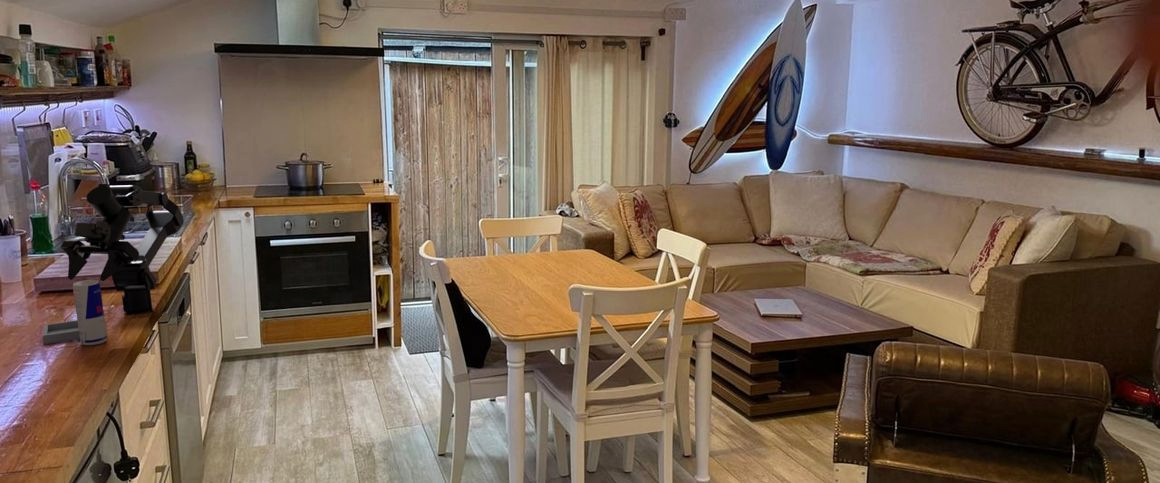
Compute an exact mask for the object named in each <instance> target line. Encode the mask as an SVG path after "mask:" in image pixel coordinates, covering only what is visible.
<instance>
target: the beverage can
mask: <svg viewBox="0 0 1160 483" xmlns="http://www.w3.org/2000/svg"><path fill="white" fill-rule="evenodd" d="M72 291H73V292H72V293H73V299H74V304H75V305H74V306H75V314H76V320H77V321H78V328H79V335H80V339H79V341H80V344H81V345H83V346H90V347H91V346H97V345H101V344H103V343H105V342H107V341H108V335H107V334H108V333H107V327H106V319H105V312H104V305H103V304H104V303H103V298H102V289H101V284H100V281H99V280H98V279H88V280H87V279H86V280H80V281H76V282H74V283H72Z"/></svg>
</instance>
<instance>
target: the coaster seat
mask: <svg viewBox="0 0 1160 483" xmlns="http://www.w3.org/2000/svg"><path fill="white" fill-rule="evenodd" d="M42 339H43V345H47V344H48V345H49V344H54V343H62V342H68V341H74V340H80V335H79V328H78V321H77V319H75V320H74V319H73V320H68V321H60V322H52V323H46V324H44V326H43V331H42Z"/></svg>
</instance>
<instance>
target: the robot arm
mask: <svg viewBox="0 0 1160 483" xmlns="http://www.w3.org/2000/svg"><path fill="white" fill-rule="evenodd" d="M86 201H87V203H88V204H89V205H90V206H91V207H92V209H93V210H94V211H95V212H96V213H97V215H99V216H100V217H102V219H101V220H98V221H96V223H93V222H92V223H91V222H76V225H75V228H74V235H73V236H75V237H81V238H84V241H85V242H86V243H88V244H89V245H86V244H85V243H83V242H82V241H81V240H79V239H65V240H63V241H62V243H61V245H60V248H59V249H60V250H61V251H63V252H64V253H65V254H66V255H67V256H68V271H67V272H68V274H67V279H68V280H70V281H72V280H74V279H75V277H77V275H79V273H80V272H81V271H82V269H83V268H84V267H85V266H86V264H87V263H88V259H90V257H91V255H92V254H94V255H95V254H97V255H98V254H99V255H100V254H101V255H107V261H106V263H105V265H104V267H103V269H102V272H101V274H100V277H99V280H100V281H101V282H105V281H106V280H107V279H109V278H110V277H111V278H112V282H113V284H114V287H115V289H116V292H123V294H122V295H121V301H122V302H121V303H122V309H123V312H124V313H125V315H126V316H131V315H138V314H145V313H151V312H152V313H153V312H154V308H153V301H152V295H151V290H155V289H156V288H157V278H156V277H155V275H154V274H153V273H152V272H151V270H150V265H151V263H152V262H153V260H154V258H155V257H156V255H157V253H158V252H159V251H160V248H161V247H162V246H163V243H165V241H166V239H167V238H168V237H170V236H172V235H174V234H176V233H177V232H179V231H180V230H181V229H182V226H183V225H184V216H183V213H182V211H181V209H180V207H179V205H177V204H176V203H175V202H173V201H172V200H171V199H170V198H169V197H168V194H167V192H163V191H149V190H142V188H141V187H139V186H137V185H136V184H128V185H127V184H126V185H124V184H123V185H121V184H120V185H109V184H108V183H107V182H106V183H104V182H103V183H98V185H97V187H94V188H92V189H91V190H90V191H89V192H87V194H86ZM143 205H144V206H146V207H147V210H146V213H145V217H146V219H147V221H148V224H149V226H150V228H149V229H148V231H147V233H146V234H145V235H144V237H143V238H142V239H141V241H140V243H139V244H138V245H137V247H135V246H134V245H133V244H132V243H131V242H129V241H128V240H126V241H125V238H126V235H125V234H124V232H125V230H126V228H127V226H128V224H129V223H135V217H134V215H133V211H130V210H129V208H137V207H139V206H143ZM152 207H163V209H165V210H153V208H152Z"/></svg>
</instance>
